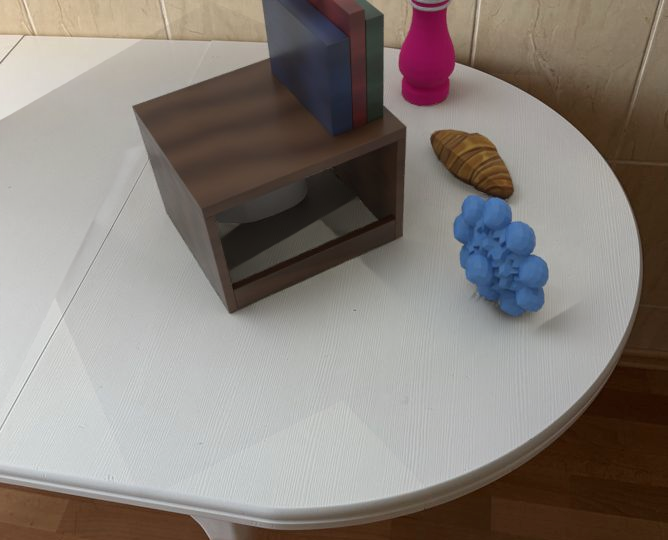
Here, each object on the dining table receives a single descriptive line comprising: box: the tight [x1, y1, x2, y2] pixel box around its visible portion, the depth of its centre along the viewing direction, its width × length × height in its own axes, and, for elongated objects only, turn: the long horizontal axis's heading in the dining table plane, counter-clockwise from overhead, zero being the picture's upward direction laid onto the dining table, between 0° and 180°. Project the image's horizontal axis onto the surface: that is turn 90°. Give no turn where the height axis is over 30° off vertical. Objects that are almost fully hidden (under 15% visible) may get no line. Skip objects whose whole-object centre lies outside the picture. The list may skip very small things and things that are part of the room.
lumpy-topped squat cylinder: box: [214, 178, 309, 224], centre depth 80 cm, size 10×13×9 cm
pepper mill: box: [397, 0, 456, 107], centre depth 85 cm, size 7×7×20 cm
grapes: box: [452, 194, 550, 317], centre depth 66 cm, size 12×7×12 cm, turn 38°
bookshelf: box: [131, 0, 408, 314], centre depth 69 cm, size 18×21×25 cm
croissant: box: [429, 128, 515, 201], centre depth 81 cm, size 14×7×5 cm, turn 34°
